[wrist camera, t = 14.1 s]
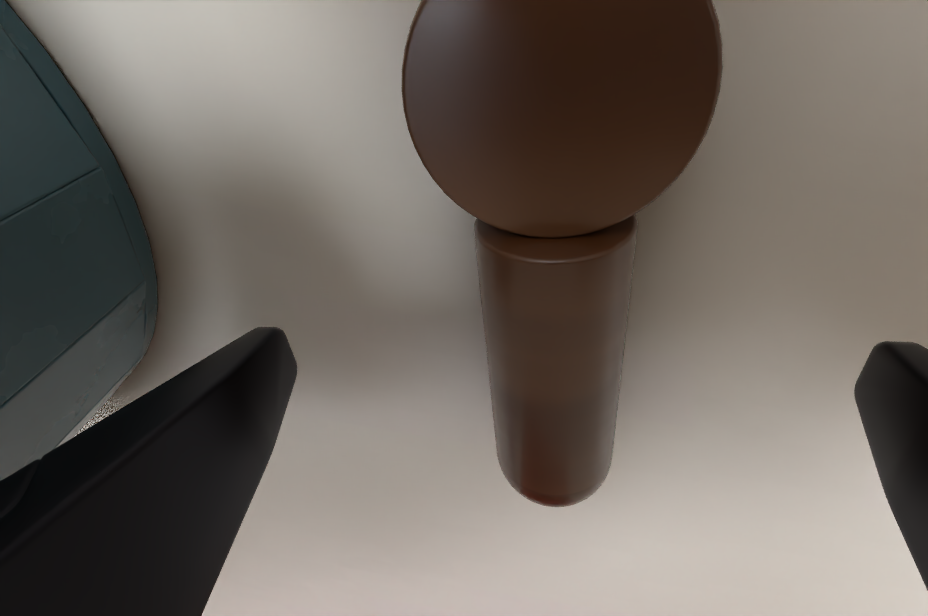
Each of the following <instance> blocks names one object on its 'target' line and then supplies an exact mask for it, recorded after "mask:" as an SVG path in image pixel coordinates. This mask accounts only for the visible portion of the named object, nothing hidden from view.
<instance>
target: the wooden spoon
mask: <svg viewBox="0 0 928 616" xmlns="http://www.w3.org/2000/svg"><path fill="white" fill-rule="evenodd" d="M722 69H723V56H722V39H721V32H720V26H719V20H718V17H717V14H716V10H715V7H714V4H713V1H712V0H421V2H420V4H419V6H418V9H417V11H416V14H415V16H414V19H413V21H412V24H411V26H410V30H409V34H408V38H407V41H406V45H405V50H404V58H403V65H402V98H403V107H404V113H405V118H406V122H407V126H408V130H409V133H410V136H411V138H412V141H413V144H414V147H415V149H416V151H417V153H418V155H419V157H420V159H421V161H422V163H423V165H424V166H425V168H426V169H427V171H428V172H429V174H430V175H431V177H432V178H433V180H434V181H435V182H436V183H437V184H438V186H439V187H440V188H441V189H442V190H443V192H444V193H445V194H446V195H447V196H448V197H450V198H451V199H452V200H453V201H454V202H455V203H456V204H457V205H458V206H460V207H461V208H463V209H464V210H465V211H467V212H468V213H469V214H471V215H472V216H474V217H476V218H477V219H476V222H475V225H474V234H475V243H476V253H477V263H478V273H479V282H480V292H481V302H482V311H483V321H484V331H485V340H486V350H487V360H488V370H489V379H490V389H491V399H492V408H493V418H494V428H495V437H496V447H497V456H498V460H499V464H500V467H501V469H502V471H503V474H504V475H505V477H506V479H507V480H508V482H509V483H510V484H511V485H512V487H513V488H514V489H515V490H516V491H517V492H518V493H520V494H521V495H522V496H524V497H525V498H527V499H529V500H530V501H532V502H535V503H538V504H541V505H544V506H550V507H564V506H570V505H574V504H576V503H579V502H581V501H583V500H585V499H587V498H588V497H589V496H591V495H592V494H593V493H594V492H595V491H596V490H597V489H598V488H599V487H600V486H601V484H602V483H603V481H604V480H605V478H606V476H607V474H608V471H609V468H610V465H611V460H612V453H613V444H614V435H615V426H616V417H617V408H618V399H619V390H620V381H621V372H622V363H623V354H624V345H625V336H626V327H627V318H628V309H629V300H630V291H631V282H632V273H633V264H634V255H635V246H636V237H637V228H638V223H637V219H636V216H635V213H637V212H639V211H640V210H642V209H643V208H645V207H646V206H647V205H649V204H650V203H651V202H653V201H654V200H655V199H657V198H658V197H659V196H660V195H661V194H662V193H663V192H664V191H665V190H666V189H668V188H669V187H670V186H671V184H672V183H673V182H674V181H675V180H676V179H677V178H678V177H679V175H680V174H681V173H682V172H683V171H684V169H685V168H686V167H687V165H688V164H689V162H690V161H691V159H692V158H693V156H694V155H695V154H696V152H697V150H698V148H699V146H700V144H701V143H702V141H703V139H704V137H705V135H706V133H707V130H708V128H709V125H710V123H711V120H712V118H713V115H714V112H715V108H716V104H717V100H718V96H719V92H720V86H721V78H722Z"/></svg>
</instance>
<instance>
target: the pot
mask: <svg viewBox="0 0 928 616" xmlns="http://www.w3.org/2000/svg"><path fill="white" fill-rule="evenodd" d="M157 309H158V301H157V277H156V272H155V267H154V262H153V257H152V252H151V247H150V243H149V240H148V237H147V234H146V231H145V228H144V225H143V222H142V219H141V216H140V213H139V210H138V207H137V204H136V202H135V200H134V197H133V195H132V193H131V191H130V189H129V187H128V185H127V182H126V180H125V178H124V176H123V174H122V172H121V170H120V167H119V165H118V163H117V161H116V159H115V157H114V155H113V153H112V152H111V150H110V148H109V147H108V145H107V143H106V141H105V140H104V138H103V136H102V135H101V133H100V131H99V129H98V128H97V126H96V124H95V123H94V121H93V119H92V117H91V116H90V114H89V112H88V111H87V109H86V107H85V106H84V104H83V103H82V101H81V100H80V98H79V97H78V96H77V94H76V93H75V91H74V90H73V88H72V87H71V86H70V84H69V83H68V81H67V80H66V78H65V77H64V76H63V74H62V73H61V71H60V70H59V68H58V67H57V66H56V64H55V63H54V61H53V60H52V58H51V57H50V56H49V54H48V53H47V51H46V50H45V49H44V48H43V46H42V45H41V44H40V43H39V41H38V40H37V39H36V38H35V37H34V35H33V34H32V33H31V32H30V30H29V29H28V28H27V27H26V25H25V24H24V23H23V22H22V21H21V19H20V18H19V17H18V16H17V14H16V13H15V12H14V11H13V10H12V8H11V7H10V6H9V5H8V3H7V2H6V1H5V0H0V481H1V480H3V479H5V478H6V477H8V476H10V475H11V474H13V473H15V472H16V471H18V470H20V469H21V468H23V467H25V466H26V465H28V464H30V463H31V462H33V461H35V460H37V459H41V458H42V457H43V455H45V454H46V453H48V452H50V451H51V450H53V449H55V448H56V447H58V446H60V445H61V444H63V443H65V442H66V441H68V440H70V439H71V438H73V437H74V436H75V435H76V434H77V433H78V432H79V431H80V430H81V429H82V427H83V426H84V425H85V424H86V423H87V422H88V421H89V420H90V419H91V418H92V417H93V416H94V415H95V414H96V413H97V412H98V410H99V409H100V408H101V407H102V406H103V405H104V404H105V403H106V402H107V401H108V400H109V399H110V398H111V396H112V395H113V394H114V393H115V391H116V390H117V389H118V387H119V386H120V385H121V384H122V382H123V381H124V380H125V379H126V378H127V377H128V376H129V375H130V374H131V373H132V372H133V371H134V369H135V368H136V367H137V365H138V364H139V362H140V361H141V360H142V358H143V357H144V355H145V354H146V352H147V349H148V346H149V344H150V341H151V339H152V336H153V334H154V329H155V322H156V316H157Z"/></svg>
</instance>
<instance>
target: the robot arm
mask: <svg viewBox="0 0 928 616" xmlns="http://www.w3.org/2000/svg"><path fill="white" fill-rule="evenodd" d="M296 376H297V362H296V359H295V357H294V355H293V352H292V350H291V347H290V345H289V342H288V340H287V337H286V335H285V333H284V331H283V330H282V329H280V328H277V327H258V328H255V329H253V330H251V331H250V332H248V333H246V334H245V335H243V336H241V337H240V338H238V339H236V340H235V341H233V342H231V343H230V344H228V345H226V346H225V347H223V348H221V349H220V350H218V351H216V352H215V353H213V354H211V355H210V356H208V357H206V358H205V359H203V360H201V361H200V362H198V363H196V364H195V365H193V366H191V367H190V368H188V369H186V370H185V371H183V372H181V373H180V374H178V375H176V376H175V377H173V378H171V379H170V380H168V381H166V382H165V383H163V384H161V385H160V386H158V387H156V388H155V389H153V390H151V391H150V392H148V393H146V394H145V395H143V396H141V397H140V398H138V399H136V400H135V401H133V402H131V403H130V404H128V405H126V406H125V407H123V408H121V409H120V410H118V411H116V412H115V413H113V414H111V415H110V416H108V417H106V418H105V419H103V420H101V421H100V422H98V423H96V424H95V425H93V426H91V427H90V428H88V429H86V430H85V431H83V432H81V433H80V434H78V435H76V436H75V437H73V438H71V439H70V440H68V441H66V442H65V443H63V444H61V445H60V446H58V447H56V448H55V449H53V450H51V451H50V452H48V453H46V454H45V455H43V457H42V458H41V459H37V460H35V461H33V462H31V463H30V464H28V465H26V466H25V467H23V468H21V469H20V470H18V471H16V472H15V473H13V474H11V475H10V476H8V477H6V478H5V479H3V480H1V481H0V616H201V615H202V613H203V610H204V608H205V606H206V603H207V601H208V599H209V597H210V594H211V592H212V590H213V587H214V585H215V583H216V581H217V578H218V576H219V574H220V571H221V569H222V567H223V565H224V562H225V560H226V558H227V555H228V553H229V551H230V549H231V546H232V544H233V542H234V539H235V537H236V535H237V532H238V530H239V528H240V526H241V523H242V521H243V519H244V516H245V514H246V512H247V510H248V507H249V505H250V503H251V500H252V498H253V496H254V494H255V491H256V489H257V487H258V484H259V482H260V480H261V478H262V475H263V473H264V471H265V468H266V466H267V464H268V461H269V459H270V456H271V454H272V451H273V448H274V446H275V443H276V440H277V437H278V433H279V430H280V427H281V424H282V421H283V418H284V414H285V411H286V408H287V405H288V402H289V399H290V395H291V392H292V389H293V386H294V383H295V379H296ZM854 394H855V400H856V404H857V407H858V410H859V413H860V417H861V420H862V423H863V426H864V429H865V433H866V436H867V439H868V442H869V445H870V449H871V452H872V455H873V458H874V461H875V464H876V468H877V471H878V474H879V477H880V480H881V483H882V486H883V489H884V492H885V495H886V498H887V500H888V503H889V505H890V507H891V510H892V512H893V514H894V517H895V519H896V521H897V523H898V526H899V528H900V530H901V532H902V535H903V537H904V539H905V541H906V543H907V546H908V548H909V550H910V552H911V555H912V557H913V559H914V561H915V564H916V566H917V568H918V570H919V572H920V575H921V577H922V579H923V581H924V584H925V586H926V588H927V590H928V349H927V348H925V347H923V346H921V345H919V344H917V343H913V342H890V341H885V342H880V343H878V344H877V345H876V346H874V348H873V349H872V351H871V353H870V355H869V357H868V359H867V361H866V363H865V365H864V367H863V369H862V371H861V373H860V375H859V377H858V379H857V381H856V384H855V390H854Z"/></svg>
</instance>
